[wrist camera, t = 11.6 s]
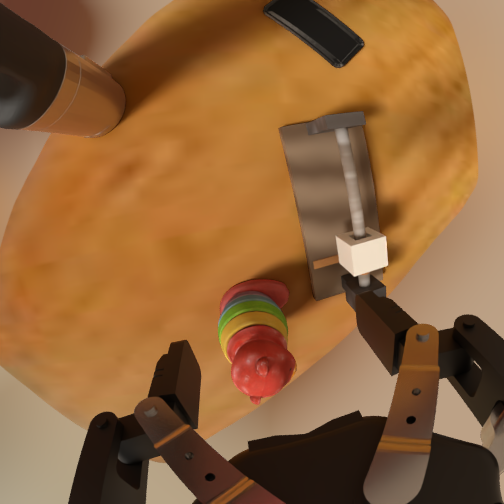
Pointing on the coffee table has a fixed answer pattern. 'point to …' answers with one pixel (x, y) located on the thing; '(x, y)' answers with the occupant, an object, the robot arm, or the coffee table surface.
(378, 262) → the sleeve
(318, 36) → the phone
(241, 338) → the stacking bear
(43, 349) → the coffee table surface
